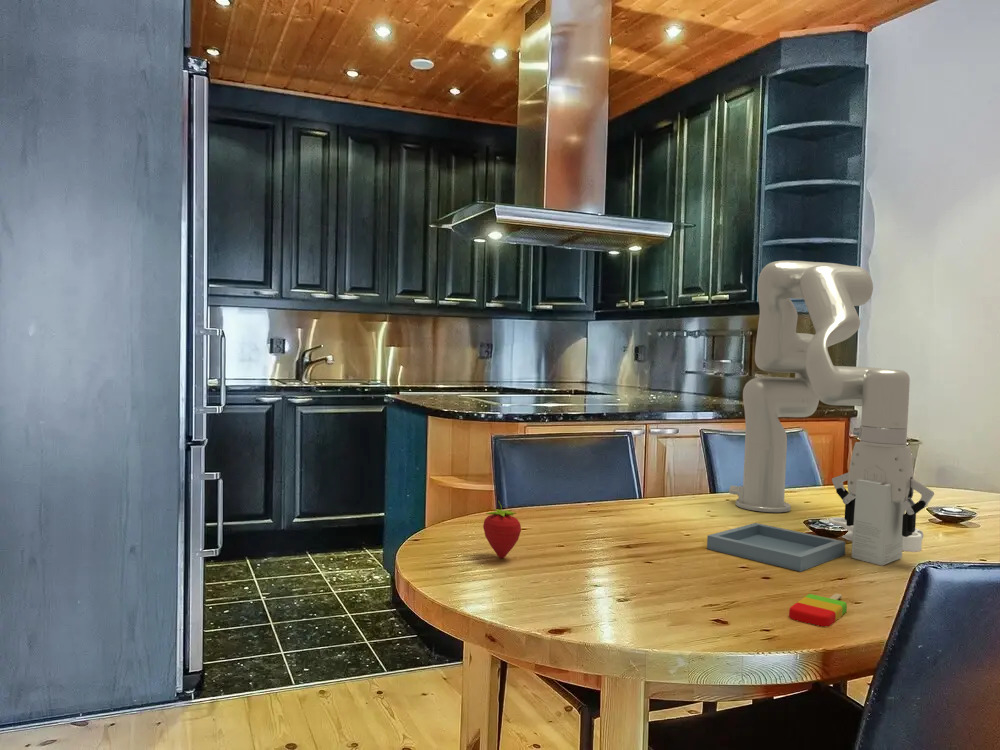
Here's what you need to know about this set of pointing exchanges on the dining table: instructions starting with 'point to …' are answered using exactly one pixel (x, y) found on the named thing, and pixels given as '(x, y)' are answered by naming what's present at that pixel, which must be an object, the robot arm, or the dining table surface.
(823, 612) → the popsicle
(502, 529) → the strawberry
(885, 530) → the skincare box
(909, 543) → the knuckle duster
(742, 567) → the dining table surface
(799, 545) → the slate tray
